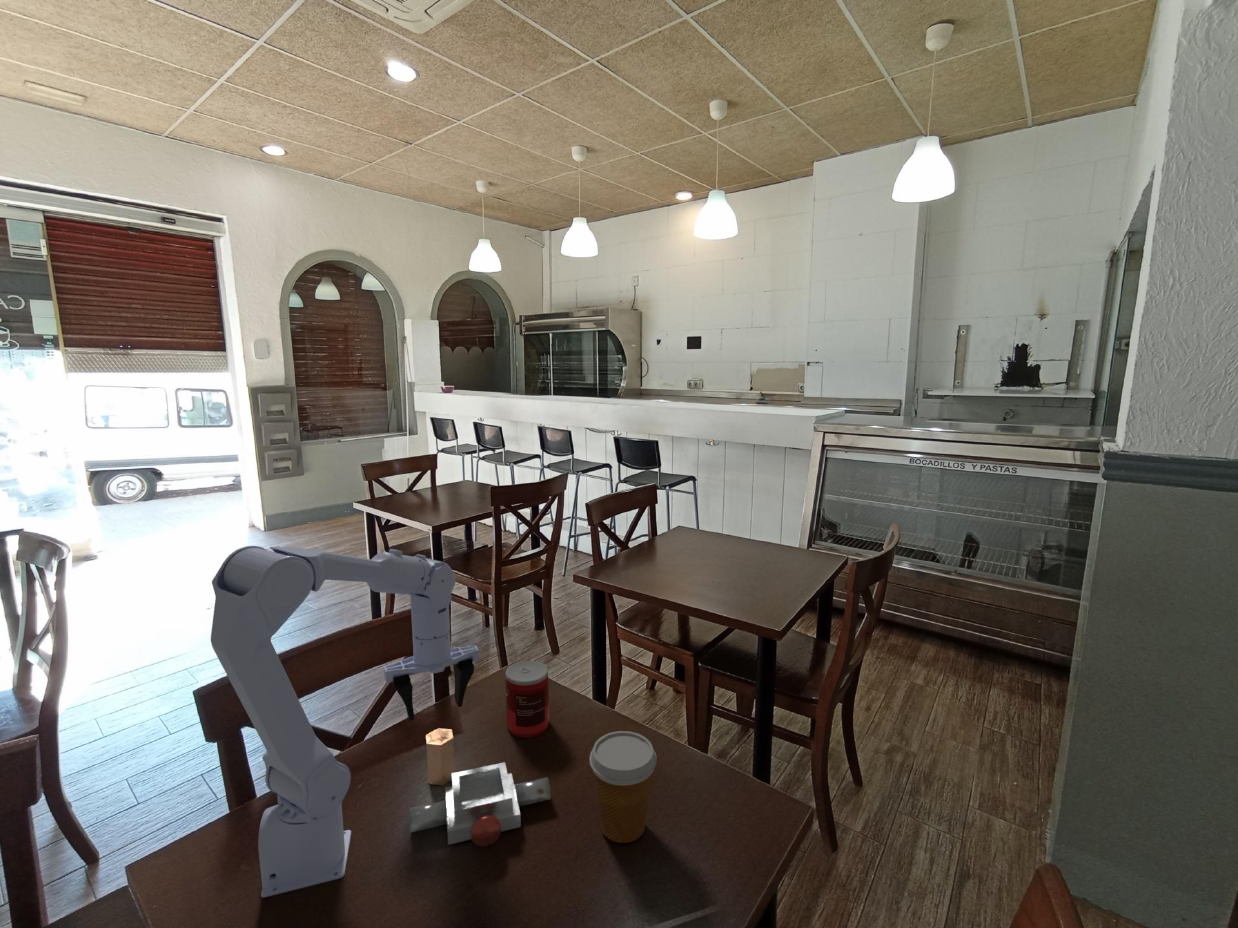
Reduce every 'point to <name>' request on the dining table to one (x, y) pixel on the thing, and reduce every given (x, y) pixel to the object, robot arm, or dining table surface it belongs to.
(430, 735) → the wooden hexagonal prism
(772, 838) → the dining table surface
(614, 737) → the disposable coffee cup
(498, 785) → the valve body
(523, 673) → the canned food
